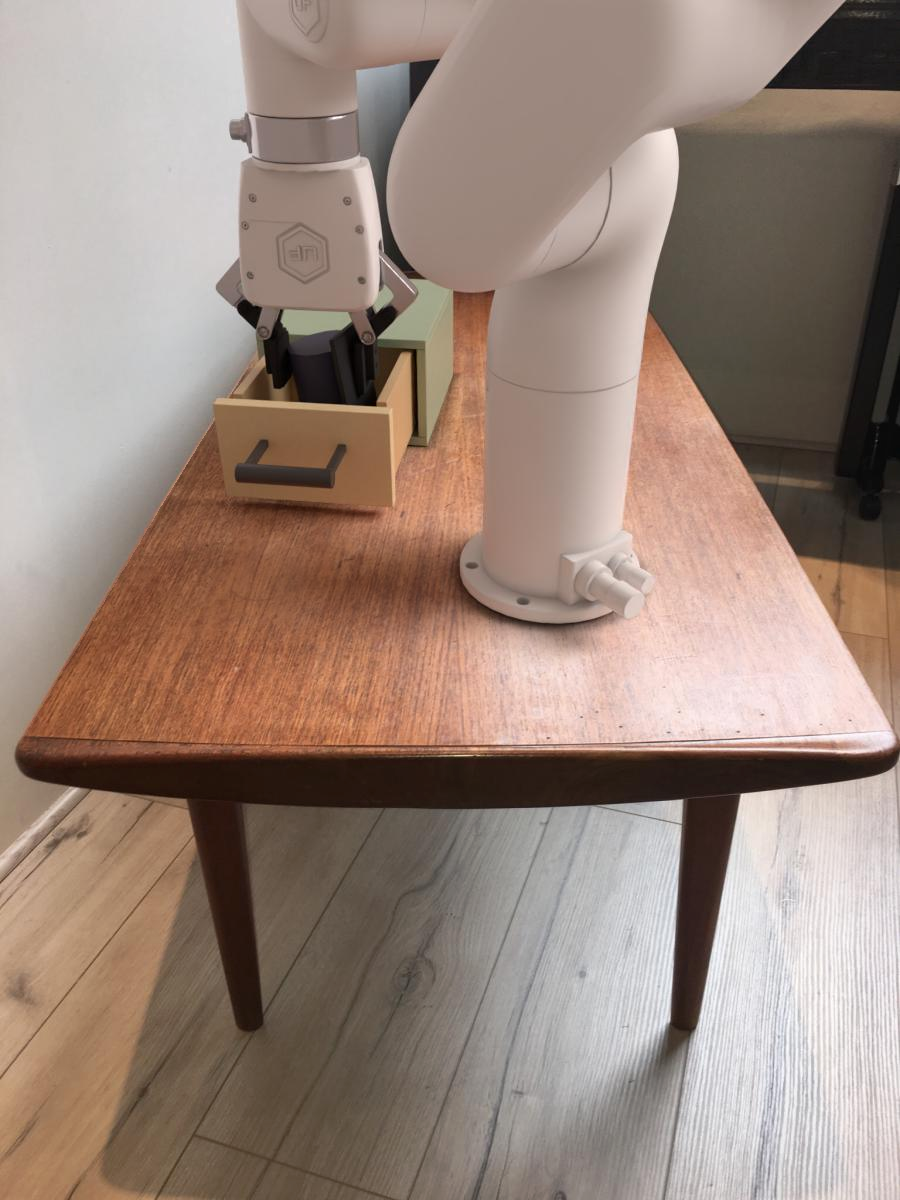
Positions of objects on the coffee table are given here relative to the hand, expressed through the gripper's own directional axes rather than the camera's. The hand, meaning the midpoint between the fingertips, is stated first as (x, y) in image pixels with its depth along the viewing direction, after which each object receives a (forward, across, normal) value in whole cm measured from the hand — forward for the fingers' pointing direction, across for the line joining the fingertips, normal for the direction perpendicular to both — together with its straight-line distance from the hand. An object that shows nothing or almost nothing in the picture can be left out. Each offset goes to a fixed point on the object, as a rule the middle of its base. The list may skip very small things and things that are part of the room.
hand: (323, 382), depth 79 cm
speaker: (+5, +1, 0) cm, 6 cm away
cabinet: (+8, 0, +14) cm, 16 cm away
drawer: (+7, 0, -2) cm, 7 cm away
